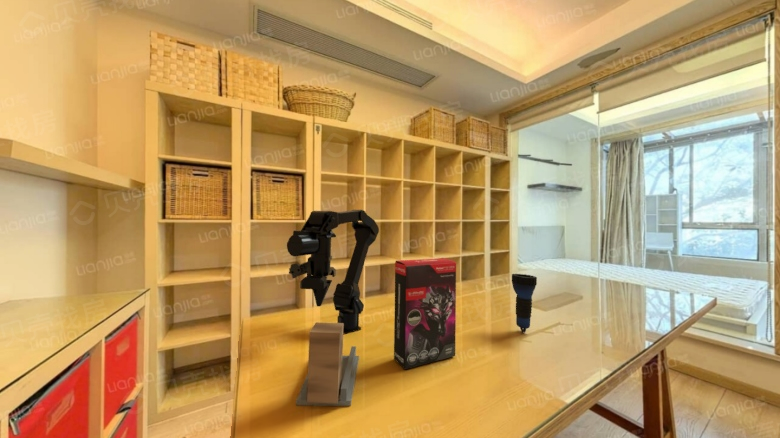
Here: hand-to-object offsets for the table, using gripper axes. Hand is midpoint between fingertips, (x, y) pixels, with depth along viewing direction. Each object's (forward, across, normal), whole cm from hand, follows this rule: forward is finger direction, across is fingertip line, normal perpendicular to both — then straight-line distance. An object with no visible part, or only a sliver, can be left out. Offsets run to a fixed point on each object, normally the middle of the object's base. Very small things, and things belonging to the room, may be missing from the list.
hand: (318, 305), depth 78 cm
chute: (+12, +16, +7) cm, 21 cm away
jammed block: (+11, +23, +7) cm, 27 cm away
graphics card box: (+12, +5, +31) cm, 33 cm away
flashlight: (+12, -14, +69) cm, 71 cm away
